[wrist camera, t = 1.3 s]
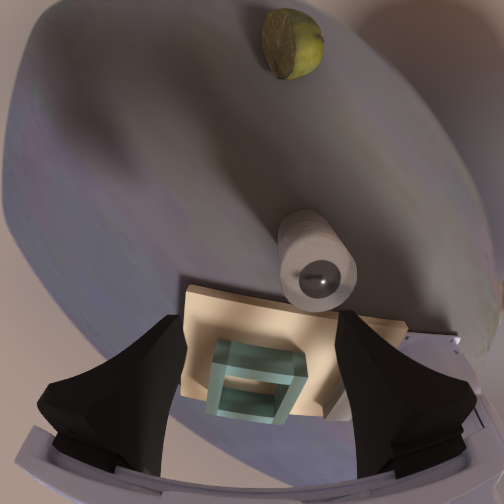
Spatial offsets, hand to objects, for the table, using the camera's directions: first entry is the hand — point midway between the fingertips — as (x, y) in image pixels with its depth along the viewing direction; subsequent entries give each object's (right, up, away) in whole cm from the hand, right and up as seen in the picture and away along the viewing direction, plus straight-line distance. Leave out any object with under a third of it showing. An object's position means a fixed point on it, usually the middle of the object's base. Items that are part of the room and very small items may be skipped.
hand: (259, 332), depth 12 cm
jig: (+3, -7, +13) cm, 15 cm away
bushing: (+4, +5, +8) cm, 10 cm away
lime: (+2, +17, +3) cm, 18 cm away
